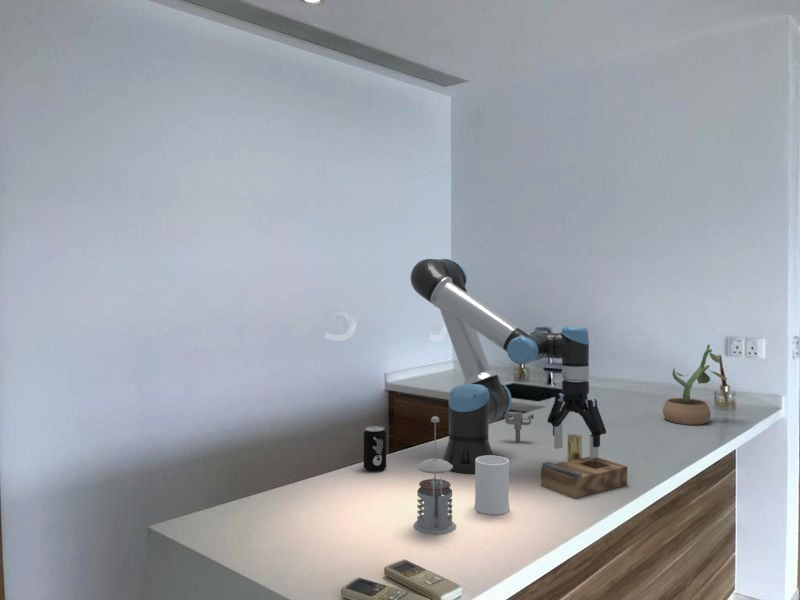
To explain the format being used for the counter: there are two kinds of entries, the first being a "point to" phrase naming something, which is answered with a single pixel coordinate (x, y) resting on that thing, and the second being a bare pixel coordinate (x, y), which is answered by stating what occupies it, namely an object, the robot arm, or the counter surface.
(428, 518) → the french press
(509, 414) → the mechanical component
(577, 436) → the brass cylinder
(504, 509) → the mug
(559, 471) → the jig
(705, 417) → the potted plant
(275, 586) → the counter surface
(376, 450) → the beverage can
